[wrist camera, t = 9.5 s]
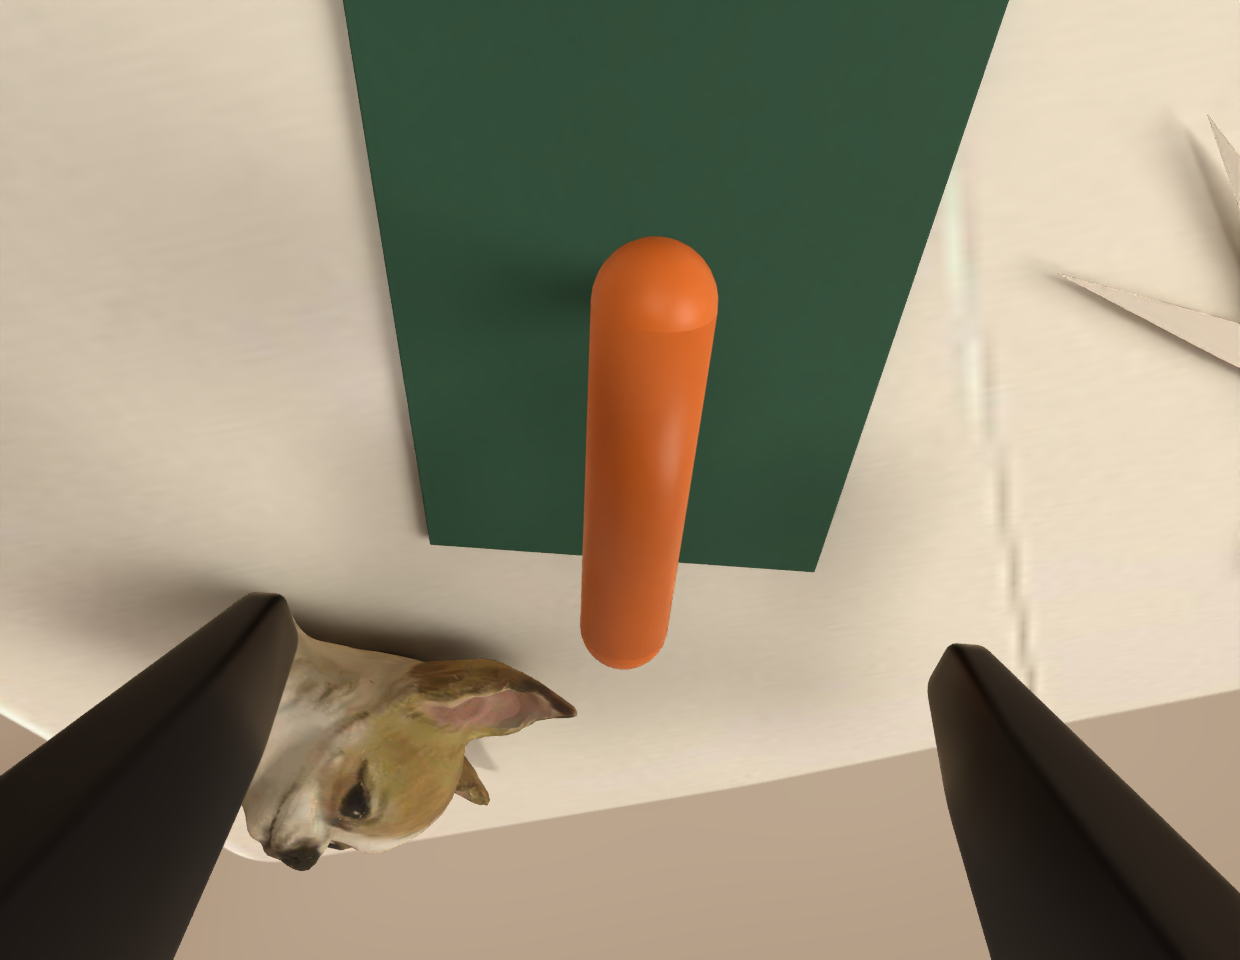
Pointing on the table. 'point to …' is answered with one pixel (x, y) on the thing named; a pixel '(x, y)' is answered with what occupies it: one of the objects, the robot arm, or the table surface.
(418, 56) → the cutting mat
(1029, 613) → the table surface
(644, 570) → the t handle
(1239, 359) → the scissors
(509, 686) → the ceramic sculpture
